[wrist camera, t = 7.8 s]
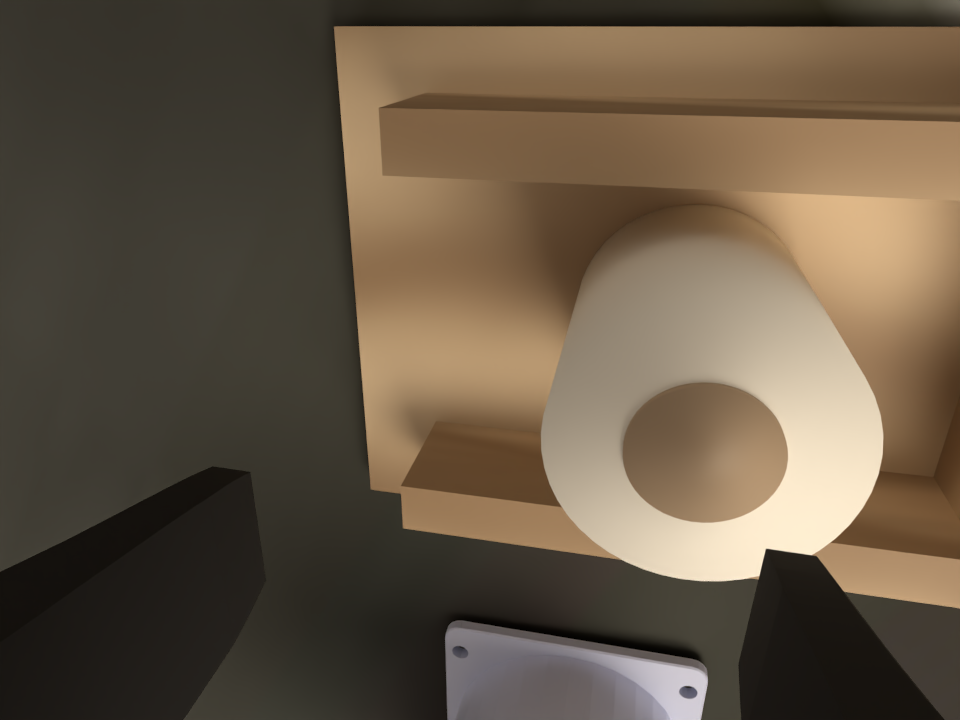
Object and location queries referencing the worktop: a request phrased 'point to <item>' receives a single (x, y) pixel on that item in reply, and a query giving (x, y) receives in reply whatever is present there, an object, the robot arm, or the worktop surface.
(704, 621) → the worktop surface
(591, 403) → the paper roll
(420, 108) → the clip holder
